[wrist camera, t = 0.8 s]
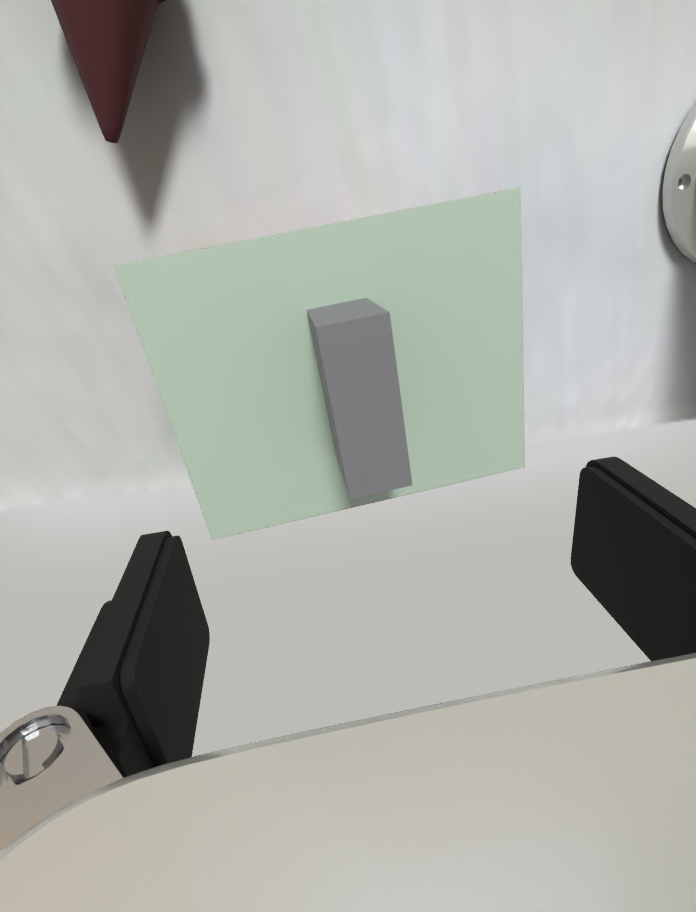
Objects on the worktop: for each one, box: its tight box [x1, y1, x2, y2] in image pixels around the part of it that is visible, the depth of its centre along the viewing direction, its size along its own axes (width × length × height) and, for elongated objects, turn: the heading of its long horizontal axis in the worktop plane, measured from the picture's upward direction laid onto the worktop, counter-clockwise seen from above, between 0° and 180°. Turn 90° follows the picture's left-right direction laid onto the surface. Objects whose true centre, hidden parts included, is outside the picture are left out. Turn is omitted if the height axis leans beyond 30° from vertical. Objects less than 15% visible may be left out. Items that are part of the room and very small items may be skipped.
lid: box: [114, 188, 525, 540], centre depth 24 cm, size 19×15×7 cm
